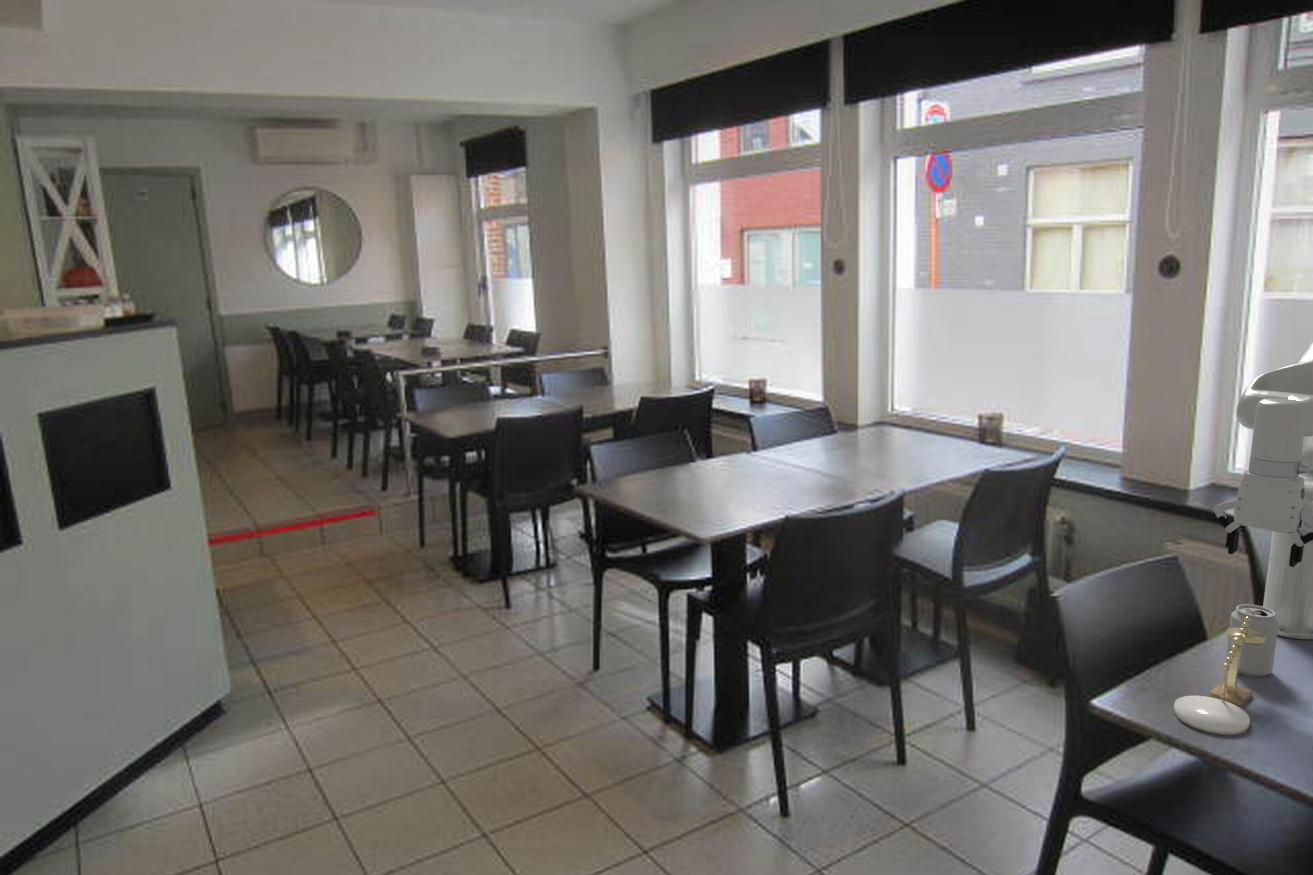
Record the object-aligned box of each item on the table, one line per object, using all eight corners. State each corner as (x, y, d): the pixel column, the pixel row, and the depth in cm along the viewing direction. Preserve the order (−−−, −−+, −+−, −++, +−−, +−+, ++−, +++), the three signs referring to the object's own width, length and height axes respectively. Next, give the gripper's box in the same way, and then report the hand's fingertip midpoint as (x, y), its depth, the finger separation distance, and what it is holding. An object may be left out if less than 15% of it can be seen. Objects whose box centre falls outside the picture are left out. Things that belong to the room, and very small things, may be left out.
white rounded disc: (1186, 695, 164) (1187, 689, 163) (1257, 717, 156) (1258, 711, 156) (1163, 717, 156) (1164, 711, 156) (1237, 742, 148) (1238, 735, 148)
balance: (1226, 676, 170) (1234, 607, 168) (1263, 687, 166) (1272, 616, 163) (1201, 701, 162) (1209, 629, 159) (1239, 713, 157) (1249, 639, 154)
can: (1279, 680, 169) (1287, 618, 166) (1234, 677, 170) (1241, 616, 168) (1261, 662, 176) (1269, 603, 173) (1218, 659, 177) (1225, 600, 175)
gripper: (1337, 472, 161) (1324, 565, 165) (1226, 456, 173) (1216, 543, 177) (1326, 480, 156) (1313, 575, 160) (1212, 463, 168) (1202, 552, 172)
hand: (1262, 558), depth 168 cm, fingers open, 9 cm apart
